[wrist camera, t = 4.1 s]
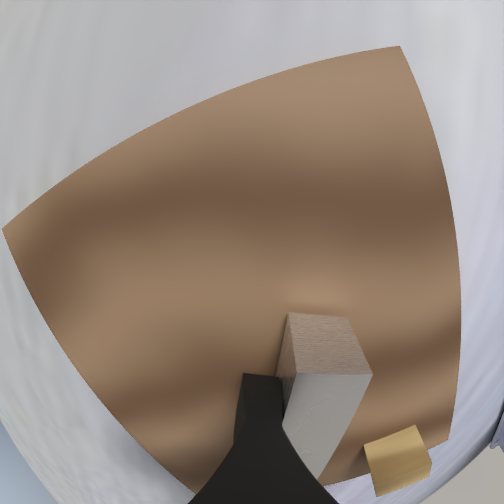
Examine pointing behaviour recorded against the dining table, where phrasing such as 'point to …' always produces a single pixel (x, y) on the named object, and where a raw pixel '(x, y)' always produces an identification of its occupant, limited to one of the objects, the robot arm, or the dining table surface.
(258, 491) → the robot arm
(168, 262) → the plate
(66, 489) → the dining table surface
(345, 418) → the latch bar
